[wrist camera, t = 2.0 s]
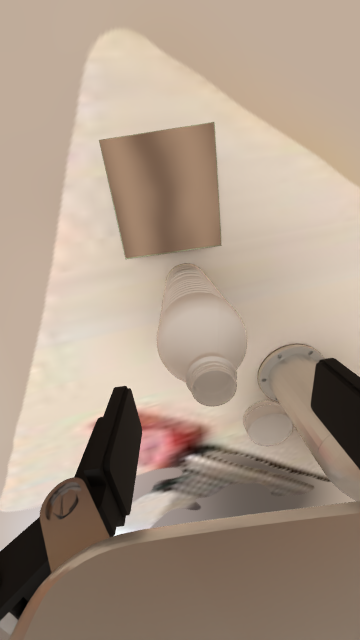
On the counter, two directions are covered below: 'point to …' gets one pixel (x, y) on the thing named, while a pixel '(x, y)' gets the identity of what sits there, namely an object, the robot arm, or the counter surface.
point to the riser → (164, 189)
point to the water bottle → (211, 350)
